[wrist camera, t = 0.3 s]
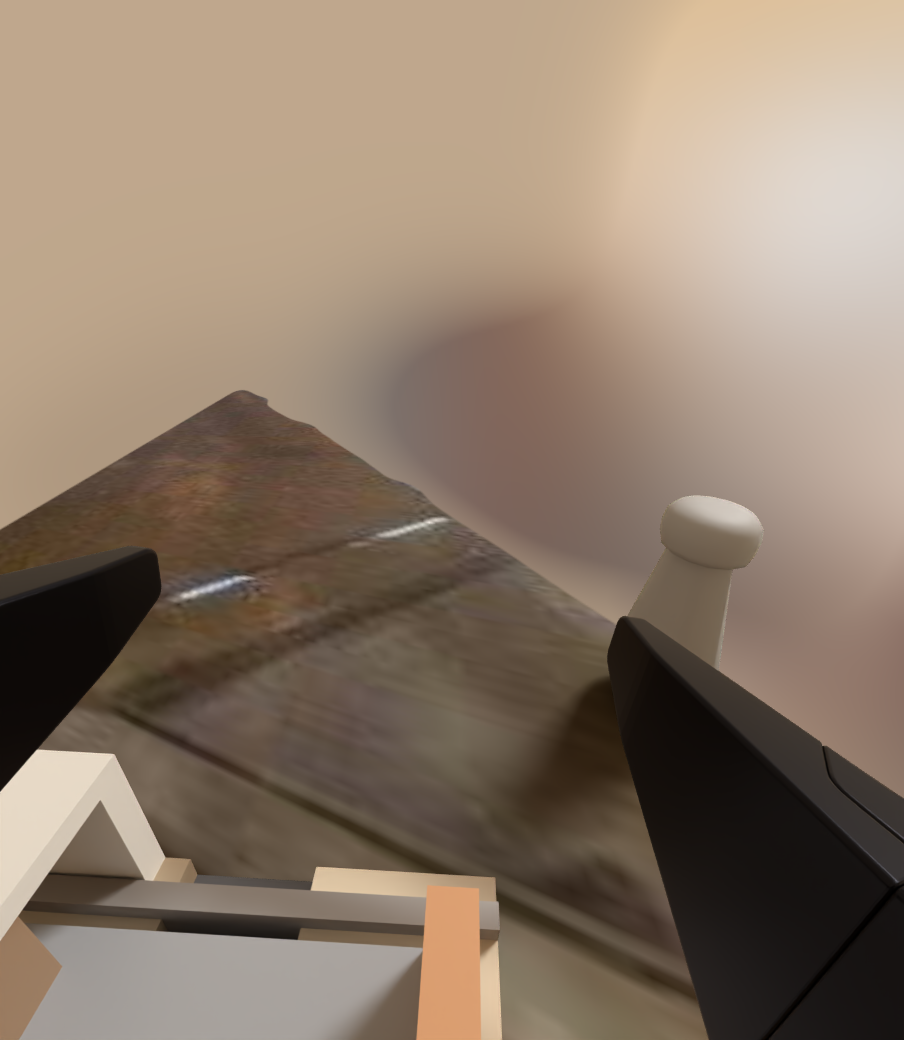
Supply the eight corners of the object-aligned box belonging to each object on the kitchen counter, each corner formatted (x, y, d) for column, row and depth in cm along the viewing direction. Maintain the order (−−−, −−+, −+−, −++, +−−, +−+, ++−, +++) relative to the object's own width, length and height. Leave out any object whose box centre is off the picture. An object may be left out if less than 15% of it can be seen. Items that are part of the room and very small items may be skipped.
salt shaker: (608, 733, 25) (669, 530, 19) (593, 657, 30) (638, 478, 24) (718, 748, 25) (818, 544, 19) (684, 669, 30) (754, 488, 24)
